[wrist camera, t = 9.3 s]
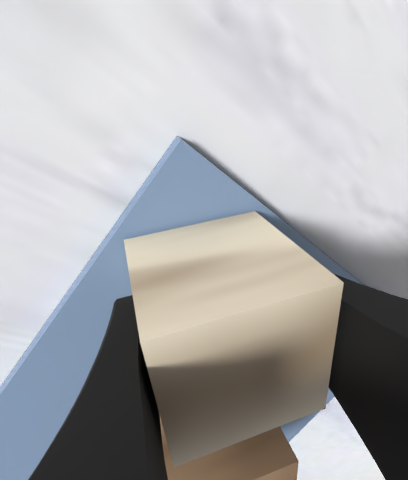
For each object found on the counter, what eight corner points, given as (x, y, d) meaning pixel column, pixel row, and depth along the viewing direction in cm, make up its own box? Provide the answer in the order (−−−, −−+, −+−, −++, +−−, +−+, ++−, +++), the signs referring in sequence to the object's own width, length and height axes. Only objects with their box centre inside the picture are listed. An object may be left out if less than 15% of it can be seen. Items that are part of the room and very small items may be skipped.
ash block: (256, 310, 13) (324, 408, 9) (149, 342, 12) (174, 467, 8) (255, 211, 11) (344, 282, 7) (123, 240, 10) (139, 342, 6)
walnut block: (246, 417, 16) (292, 521, 12) (162, 448, 15) (183, 571, 11) (243, 358, 14) (298, 461, 10) (145, 389, 13) (165, 516, 9)
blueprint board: (205, 510, 21) (208, 522, 20) (-78, 497, 13) (-86, 516, 12) (400, 314, 17) (410, 322, 17) (177, 135, 9) (181, 138, 9)
